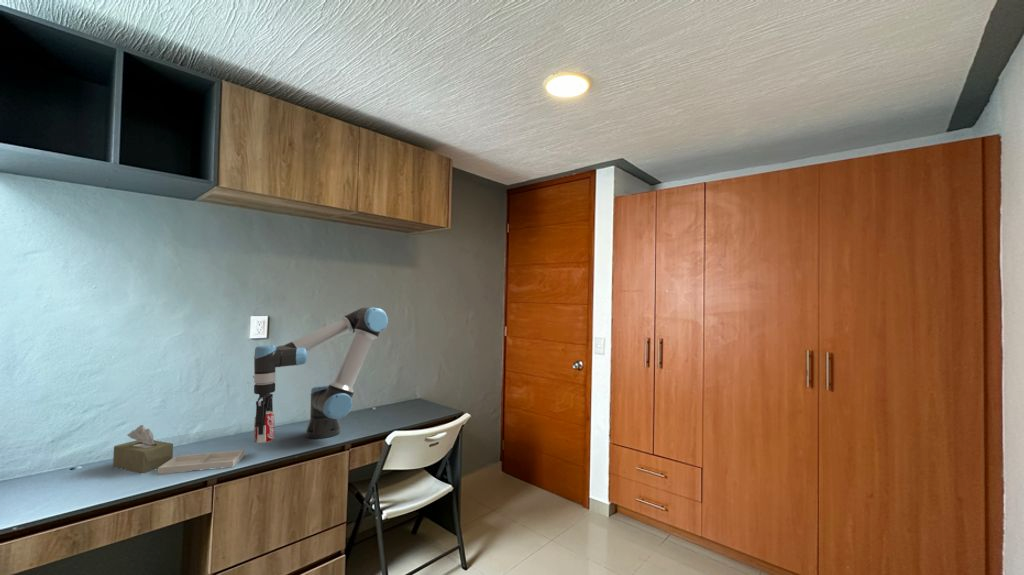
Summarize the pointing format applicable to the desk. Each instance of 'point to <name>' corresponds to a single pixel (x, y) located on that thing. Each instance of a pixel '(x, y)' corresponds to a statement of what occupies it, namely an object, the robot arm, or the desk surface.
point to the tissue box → (142, 452)
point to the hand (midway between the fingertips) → (264, 438)
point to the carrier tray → (201, 461)
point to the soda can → (269, 427)
